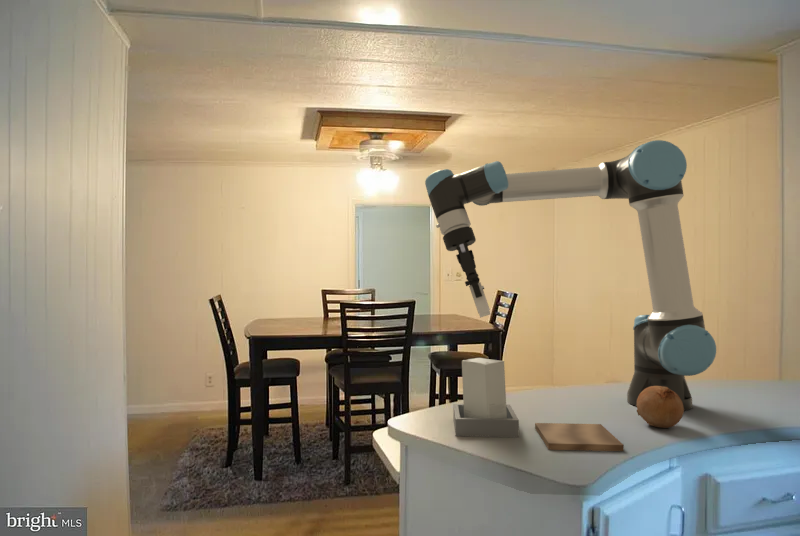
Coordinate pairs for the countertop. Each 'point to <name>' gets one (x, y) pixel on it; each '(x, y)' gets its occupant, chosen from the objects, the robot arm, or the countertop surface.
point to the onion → (660, 406)
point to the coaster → (577, 437)
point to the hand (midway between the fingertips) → (484, 314)
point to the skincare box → (484, 388)
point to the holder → (485, 424)
